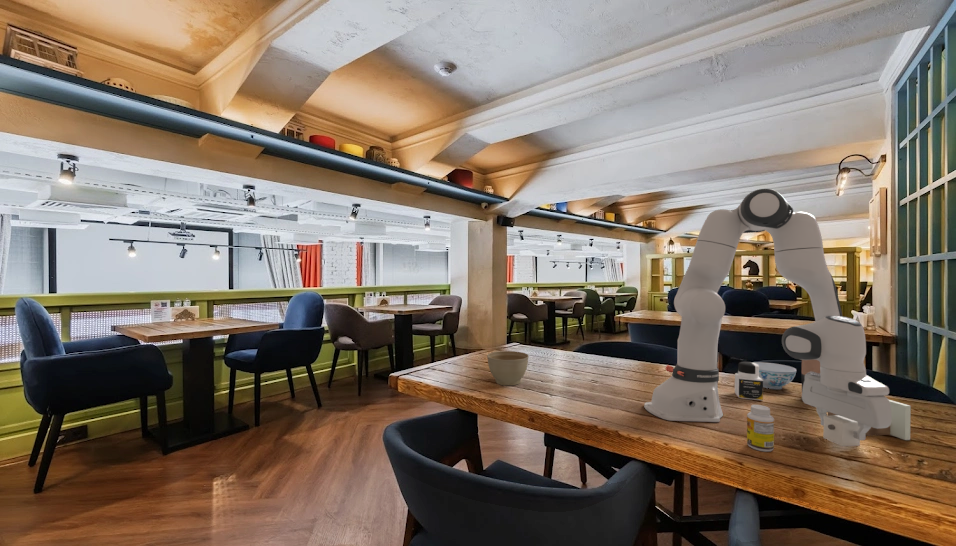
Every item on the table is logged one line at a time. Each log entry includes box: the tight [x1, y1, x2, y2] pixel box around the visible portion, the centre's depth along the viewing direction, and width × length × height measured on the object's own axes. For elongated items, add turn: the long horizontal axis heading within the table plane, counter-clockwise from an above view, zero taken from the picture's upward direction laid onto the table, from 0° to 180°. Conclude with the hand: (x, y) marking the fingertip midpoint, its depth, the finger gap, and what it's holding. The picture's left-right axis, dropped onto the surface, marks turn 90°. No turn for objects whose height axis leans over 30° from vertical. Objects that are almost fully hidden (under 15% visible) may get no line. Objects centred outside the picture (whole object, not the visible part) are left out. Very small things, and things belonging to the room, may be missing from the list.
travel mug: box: [801, 360, 820, 390], centre depth 139 cm, size 8×8×20 cm
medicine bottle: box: [734, 361, 764, 401], centre depth 143 cm, size 7×7×12 cm
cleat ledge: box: [827, 412, 891, 437], centre depth 115 cm, size 7×11×3 cm, turn 7°
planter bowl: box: [486, 350, 530, 387], centre depth 159 cm, size 16×16×11 cm
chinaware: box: [753, 361, 797, 390], centre depth 155 cm, size 15×15×8 cm
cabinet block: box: [822, 415, 861, 447], centre depth 106 cm, size 6×5×6 cm
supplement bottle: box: [746, 404, 775, 452], centre depth 102 cm, size 6×6×10 cm
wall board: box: [888, 399, 912, 441], centre depth 116 cm, size 2×18×9 cm, turn 7°
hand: (842, 432), depth 106 cm, fingers open, 7 cm apart
